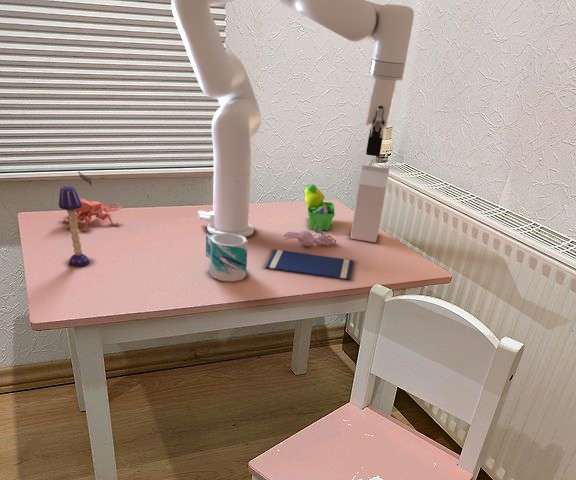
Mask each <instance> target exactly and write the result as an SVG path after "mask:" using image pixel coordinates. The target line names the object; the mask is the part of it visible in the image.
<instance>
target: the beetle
mask: <svg viewBox="0 0 576 480" xmlns="http://www.w3.org/2000/svg"><path fill="white" fill-rule="evenodd" d="M77 173H78V176H79V178H81V179H82V180H83V181H84V182H86V183H87V184H89V185H90V186H92V178H91V177H87V176H86V175H84V174H83V173H81V172H80V171H79V170H78V171H77ZM79 198H80V201H81V203H82V207H81V208H78V209H75V210H76V213H75V215H76V217H77V220H76V221H77V222H81V223H83V222H84V221H85V222H84V224H85V225H84V227H85V228H83V229H82V232H84V233H87V232H88V224H90V223H91V221H92V217H93V216H95V218H97V219H100V220H101V221H105V220H106V218H108V220H109V222H110V223H111V226H116V227H118V226H119V223H118V222H116V223H114V222H113V220H112V218H111V216H110V212H117V211H119V210H121V209H122V208H123V206H122V205H120V206H118V205H119V203H111V204H105V203H101V202H99V201H96V200H93V201H89V200H87V199H85V198H82V197H79ZM113 206H117V207H114V208H113ZM104 212H105V213H104ZM69 222H70V221H69V220H66V219H63V222H62V224H67V223H68V224H69ZM70 229H71V228H70V227H69V230H70Z"/></svg>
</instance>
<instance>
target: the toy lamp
mask: <svg viewBox="0 0 576 480" xmlns="http://www.w3.org/2000/svg"><path fill="white" fill-rule="evenodd" d="M80 198H81V197H80V195H79V194H78V191H77V188H76V187H74V186H72V185H65V186H61V187H60V189H59V196H58V207H59V209H61V210H66V212H67V219H68V221H69V223H68V224H69V230H70V231H69V232H70V235H71V242H72V247H73V253H74V254H72V255H71V256H70V258H69V265H71V266H74V267H83V266H87V265H88V264H90V259H89V257H88V256H87V255H86V254H84V253H83V250H82V243H81V237H80V235H79V234H80V230H79V225H78V221H76V220H77V217H76V215H75V213H76V210H75V209H78V208H81V207H82V203H81V201H80ZM76 214H77V213H76ZM70 228H71V229H70Z"/></svg>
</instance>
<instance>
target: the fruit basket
mask: <svg viewBox="0 0 576 480" xmlns="http://www.w3.org/2000/svg"><path fill="white" fill-rule="evenodd" d="M306 186H307V187H306V188H305V189H304V196H305V197H304V199H305V201H304V202H305V205H306V206H307V215H308V222H309V229H310V230H314V226H315V225H320V226H319V227H318V229H320V230H322V231H329V230H330V226H331V224H332V222H333V219H334V218H335V216H336V213H335V204H334V203H333V202H329V201H324V199H325V194H324V193H323V192H322V191H321V190H320V189H319V188H318V187H317V186H316V185H315V184H313V183H312V184H311V183H310V184H307V185H306Z"/></svg>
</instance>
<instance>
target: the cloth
mask: <svg viewBox="0 0 576 480" xmlns="http://www.w3.org/2000/svg"><path fill="white" fill-rule="evenodd" d="M353 262H354V260H353V259H347V258H339V257H333V256H324V255H318V254H312V253H303V252H296V251H289V250H282V249H277V248H276V249H273V252H272V253H271V256H270V258H269V260H268V262H267V264H266V265H265V269H268V270H275V271H282V272H288V273H295V274H302V275H303V274H304V275H310V276H317V277H324V278H331V279H339V280H345V281H350V277H351V273H352V267H353Z"/></svg>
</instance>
